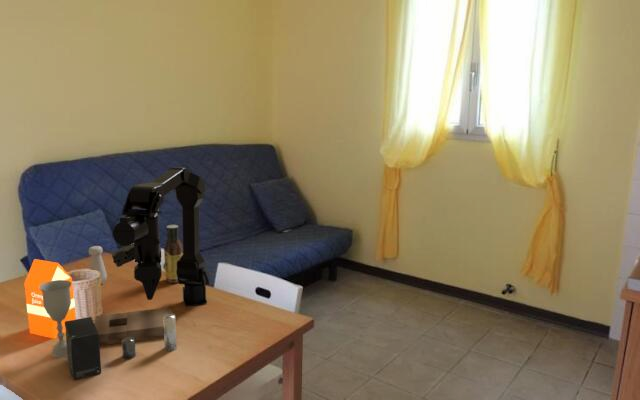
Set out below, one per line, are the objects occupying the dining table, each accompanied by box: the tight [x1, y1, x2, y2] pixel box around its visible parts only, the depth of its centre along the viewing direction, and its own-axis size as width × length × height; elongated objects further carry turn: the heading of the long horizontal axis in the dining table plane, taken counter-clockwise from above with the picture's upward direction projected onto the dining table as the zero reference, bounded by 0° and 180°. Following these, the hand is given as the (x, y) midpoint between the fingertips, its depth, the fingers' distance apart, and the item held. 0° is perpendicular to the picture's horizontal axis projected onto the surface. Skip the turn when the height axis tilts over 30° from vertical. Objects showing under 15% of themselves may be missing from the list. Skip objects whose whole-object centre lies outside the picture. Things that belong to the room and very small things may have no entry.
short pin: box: [121, 337, 137, 360], centre depth 125 cm, size 3×3×4 cm
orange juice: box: [23, 258, 77, 340], centre depth 136 cm, size 8×9×20 cm
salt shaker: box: [88, 245, 108, 285], centre depth 170 cm, size 6×6×13 cm
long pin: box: [163, 312, 178, 352], centre depth 129 cm, size 3×3×9 cm
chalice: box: [39, 280, 71, 358], centre depth 125 cm, size 7×7×18 cm
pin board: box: [94, 306, 172, 346], centre depth 138 cm, size 20×12×3 cm, turn 109°
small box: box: [65, 316, 102, 381], centre depth 119 cm, size 11×6×10 cm, turn 33°
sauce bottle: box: [163, 224, 183, 284], centre depth 173 cm, size 6×6×20 cm
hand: (150, 292), depth 130 cm, fingers open, 9 cm apart
